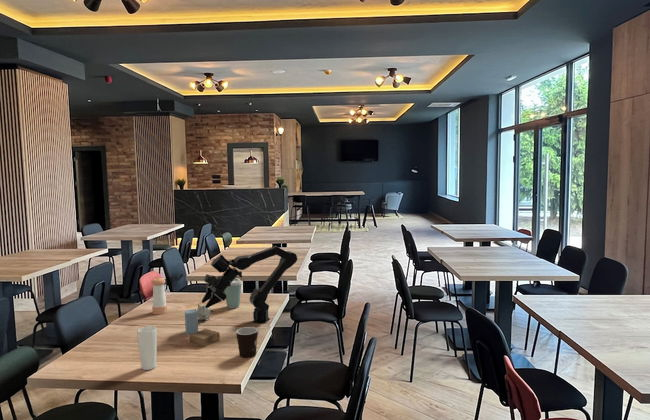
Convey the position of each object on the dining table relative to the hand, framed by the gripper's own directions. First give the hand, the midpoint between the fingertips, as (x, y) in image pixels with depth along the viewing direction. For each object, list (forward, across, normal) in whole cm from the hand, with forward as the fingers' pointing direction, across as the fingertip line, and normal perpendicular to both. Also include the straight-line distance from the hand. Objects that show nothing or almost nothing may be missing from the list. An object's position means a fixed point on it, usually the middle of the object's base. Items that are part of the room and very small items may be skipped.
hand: (203, 304), depth 205 cm
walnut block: (+11, +15, +7) cm, 19 cm away
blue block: (+13, 0, +4) cm, 13 cm away
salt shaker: (+20, -40, -3) cm, 45 cm away
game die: (+7, -15, +10) cm, 20 cm away
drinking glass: (+28, +31, -10) cm, 43 cm away
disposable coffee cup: (-6, -30, +23) cm, 38 cm away
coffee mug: (+1, +37, +17) cm, 40 cm away
